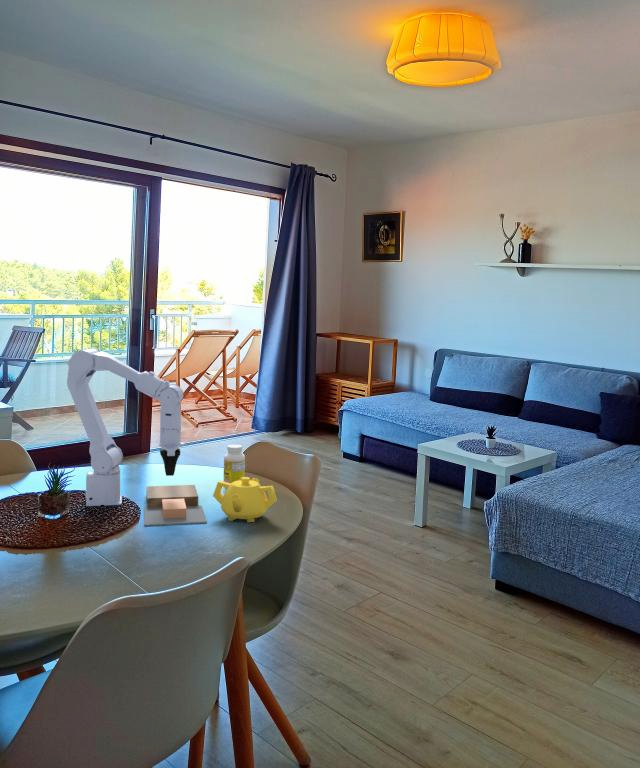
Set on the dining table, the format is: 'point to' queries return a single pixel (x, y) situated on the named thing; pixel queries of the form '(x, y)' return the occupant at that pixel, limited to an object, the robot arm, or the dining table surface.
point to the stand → (171, 495)
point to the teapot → (244, 498)
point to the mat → (156, 518)
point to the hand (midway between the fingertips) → (169, 475)
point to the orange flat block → (173, 508)
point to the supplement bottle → (234, 464)
